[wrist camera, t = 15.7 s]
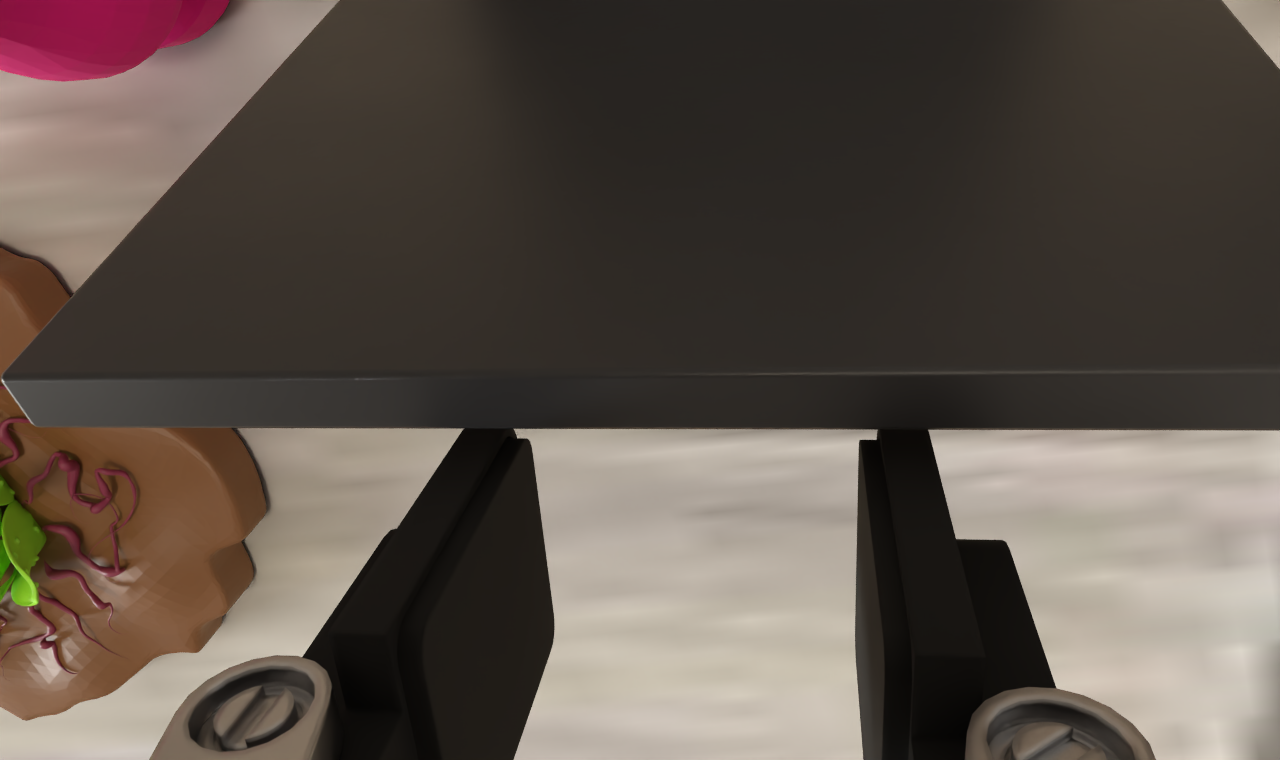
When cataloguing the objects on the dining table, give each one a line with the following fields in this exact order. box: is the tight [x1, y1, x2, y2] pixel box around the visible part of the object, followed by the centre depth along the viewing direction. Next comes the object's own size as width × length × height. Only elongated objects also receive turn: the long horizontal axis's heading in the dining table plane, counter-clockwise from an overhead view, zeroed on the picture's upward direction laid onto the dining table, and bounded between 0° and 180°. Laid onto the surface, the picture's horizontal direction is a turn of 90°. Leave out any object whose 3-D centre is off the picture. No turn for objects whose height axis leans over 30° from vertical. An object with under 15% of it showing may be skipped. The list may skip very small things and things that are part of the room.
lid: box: [1, 0, 1280, 430], centre depth 16 cm, size 16×15×1 cm
